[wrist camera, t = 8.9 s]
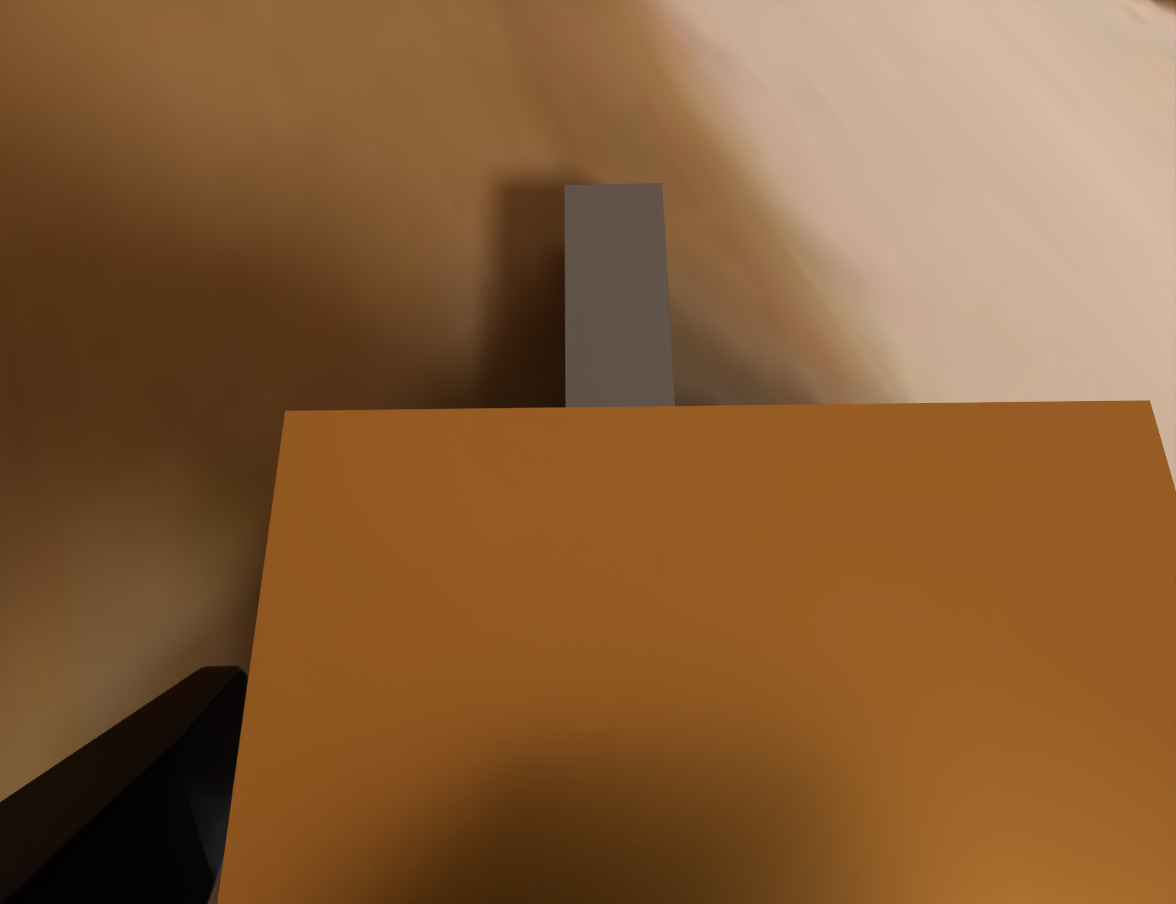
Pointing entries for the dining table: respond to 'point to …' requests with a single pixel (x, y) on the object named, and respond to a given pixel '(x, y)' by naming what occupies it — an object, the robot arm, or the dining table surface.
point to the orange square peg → (713, 658)
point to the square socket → (616, 297)
